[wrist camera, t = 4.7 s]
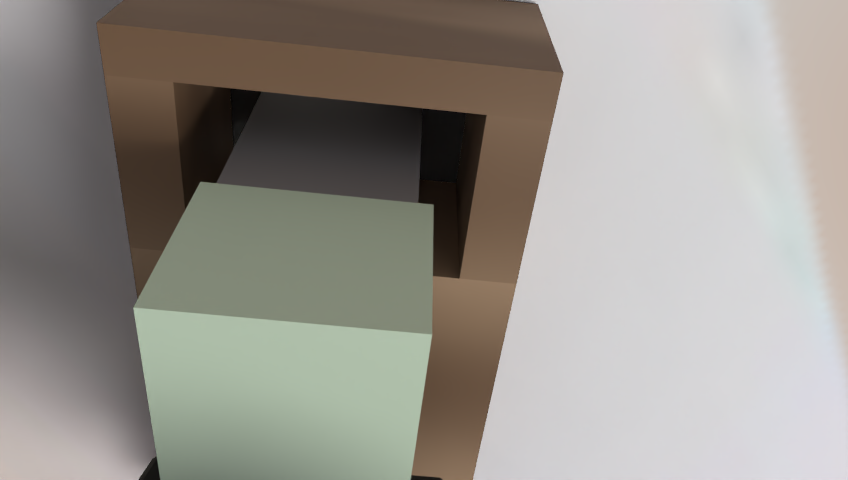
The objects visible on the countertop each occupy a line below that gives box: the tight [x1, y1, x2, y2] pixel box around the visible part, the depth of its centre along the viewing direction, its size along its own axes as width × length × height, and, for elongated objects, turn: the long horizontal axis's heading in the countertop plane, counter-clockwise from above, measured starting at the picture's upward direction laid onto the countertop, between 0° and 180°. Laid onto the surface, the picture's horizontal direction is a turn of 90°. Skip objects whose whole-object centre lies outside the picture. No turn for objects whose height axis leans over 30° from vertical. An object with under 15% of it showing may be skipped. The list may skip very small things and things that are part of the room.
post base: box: [96, 0, 563, 480], centre depth 14 cm, size 13×6×3 cm, turn 174°
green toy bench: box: [133, 92, 434, 480], centre depth 13 cm, size 10×3×6 cm, turn 174°
